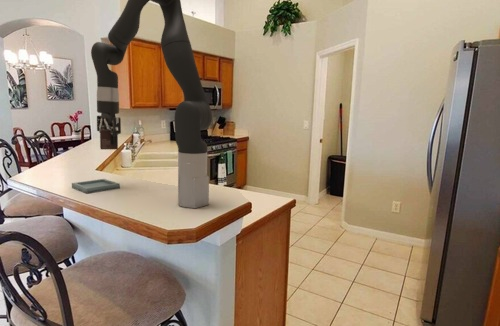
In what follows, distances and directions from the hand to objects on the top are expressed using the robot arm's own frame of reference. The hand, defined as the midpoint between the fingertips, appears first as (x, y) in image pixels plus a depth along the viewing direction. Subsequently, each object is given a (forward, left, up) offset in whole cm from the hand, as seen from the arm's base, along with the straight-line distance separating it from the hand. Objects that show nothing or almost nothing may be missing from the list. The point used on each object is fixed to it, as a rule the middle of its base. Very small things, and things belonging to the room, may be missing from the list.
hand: (108, 144), depth 118 cm
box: (0, 0, -2) cm, 2 cm away
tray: (+3, +4, -17) cm, 18 cm away
